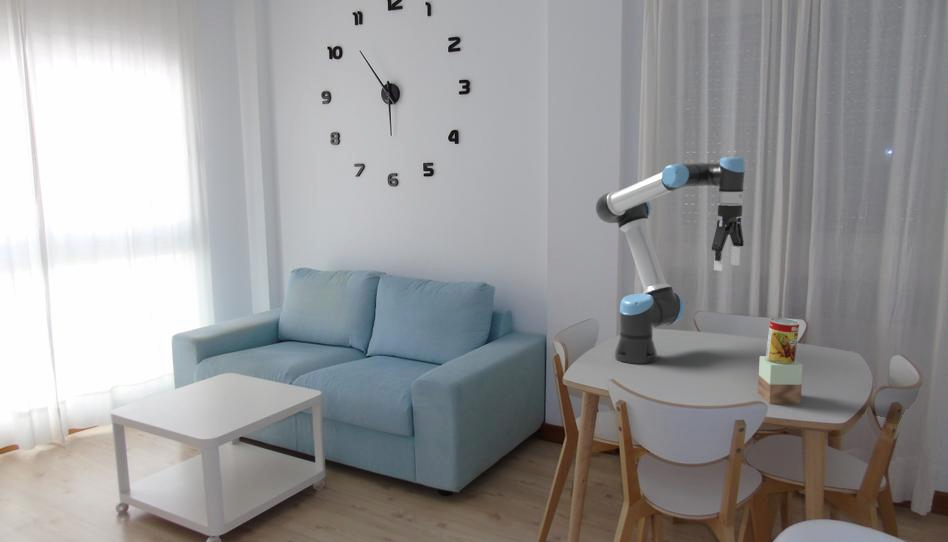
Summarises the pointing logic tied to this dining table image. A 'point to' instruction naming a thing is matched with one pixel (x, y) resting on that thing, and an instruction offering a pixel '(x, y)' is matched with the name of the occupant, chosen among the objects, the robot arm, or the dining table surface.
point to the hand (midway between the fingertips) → (726, 267)
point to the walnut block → (779, 393)
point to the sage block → (780, 372)
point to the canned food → (782, 340)
